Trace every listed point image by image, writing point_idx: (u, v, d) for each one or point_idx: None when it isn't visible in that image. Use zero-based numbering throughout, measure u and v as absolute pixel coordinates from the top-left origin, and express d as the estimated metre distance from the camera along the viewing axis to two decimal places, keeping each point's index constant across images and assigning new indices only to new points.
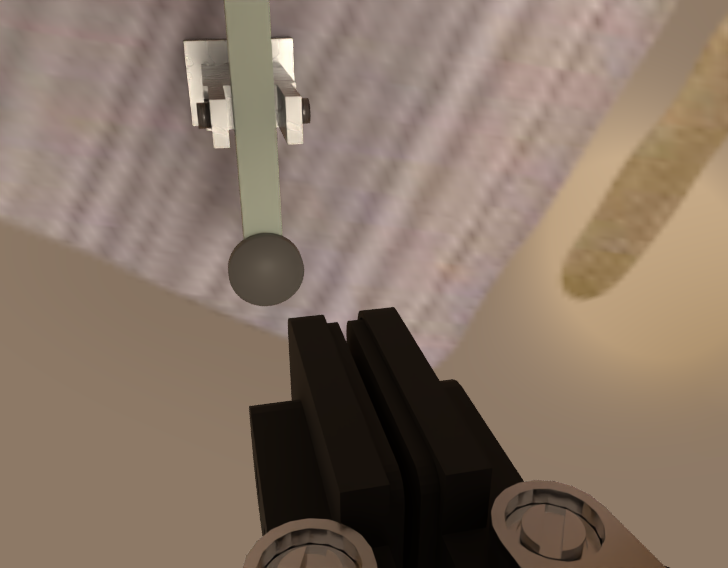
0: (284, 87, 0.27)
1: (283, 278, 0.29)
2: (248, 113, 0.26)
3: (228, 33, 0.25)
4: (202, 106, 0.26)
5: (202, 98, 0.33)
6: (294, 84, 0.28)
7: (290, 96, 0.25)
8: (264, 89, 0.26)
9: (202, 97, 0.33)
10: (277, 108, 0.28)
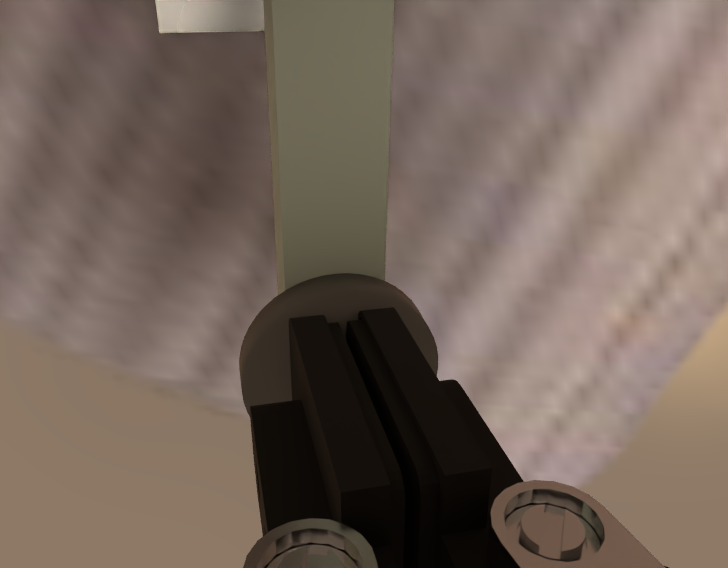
0: None
1: None
2: None
3: None
4: None
5: None
6: None
7: None
8: None
9: None
10: None
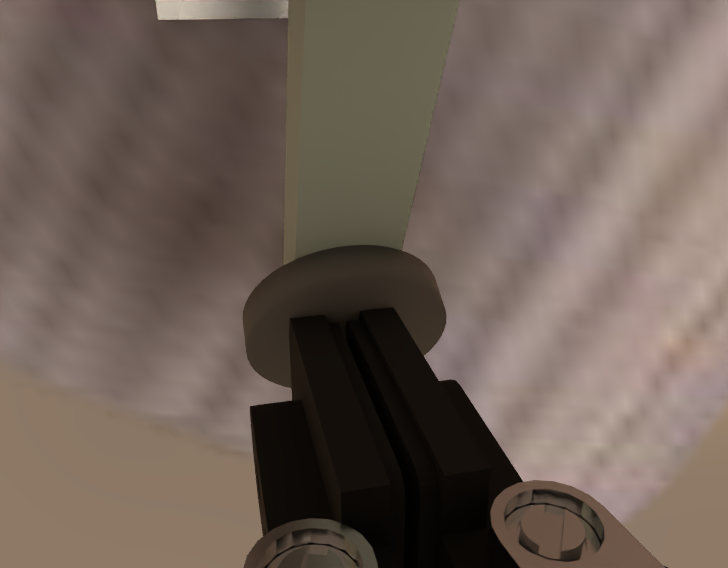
0: None
1: None
2: None
3: None
4: None
5: None
6: None
7: None
8: None
9: None
10: None
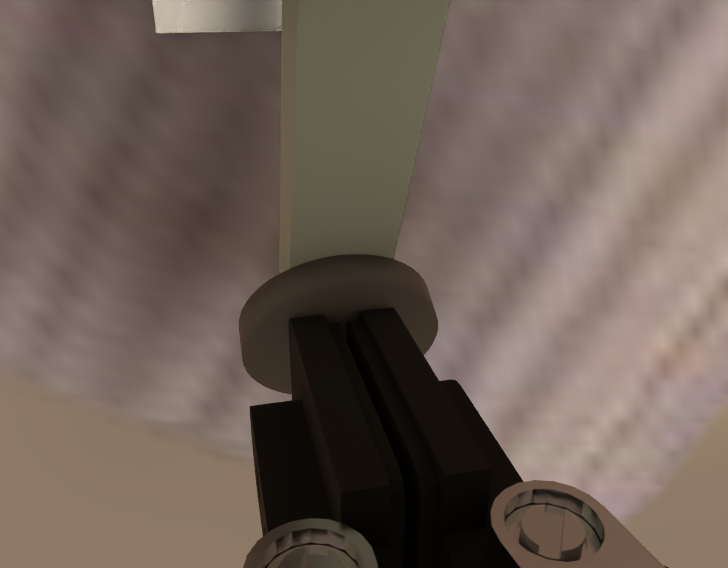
0: None
1: None
2: None
3: None
4: None
5: None
6: None
7: None
8: None
9: None
10: None
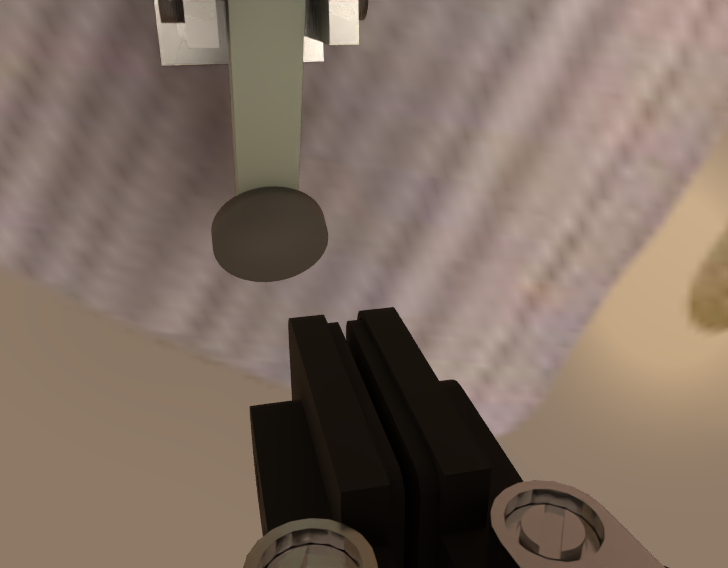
0: None
1: (296, 250, 0.19)
2: (255, 5, 0.14)
3: None
4: None
5: None
6: None
7: None
8: None
9: None
10: None
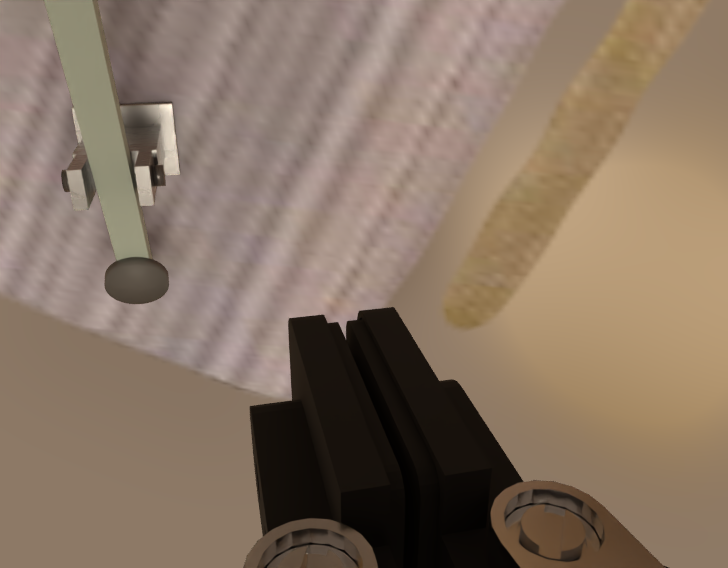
0: (142, 155, 0.31)
1: (151, 288, 0.36)
2: (108, 185, 0.31)
3: (82, 133, 0.28)
4: (66, 173, 0.30)
5: None
6: (155, 151, 0.32)
7: (139, 165, 0.30)
8: (120, 169, 0.30)
9: None
10: None
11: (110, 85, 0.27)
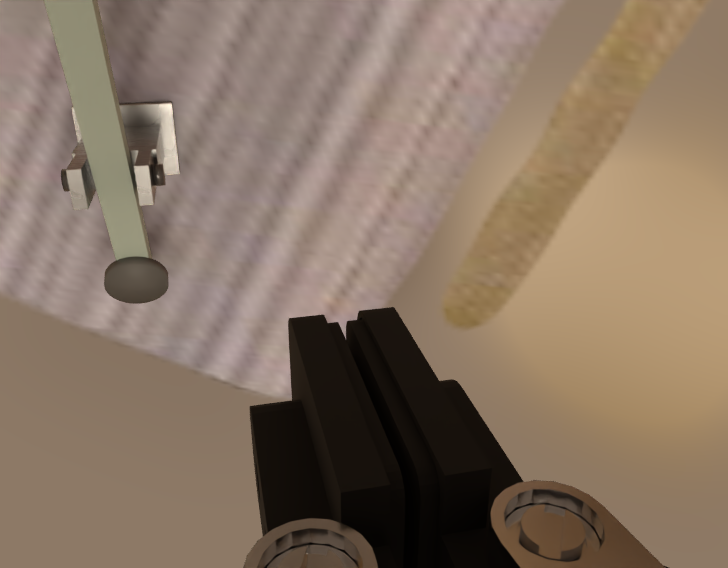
0: (142, 154, 0.31)
1: (151, 287, 0.36)
2: (108, 184, 0.31)
3: (81, 133, 0.28)
4: (66, 173, 0.30)
5: None
6: (154, 150, 0.32)
7: (138, 165, 0.30)
8: (120, 169, 0.30)
9: None
10: None
11: (110, 85, 0.27)
